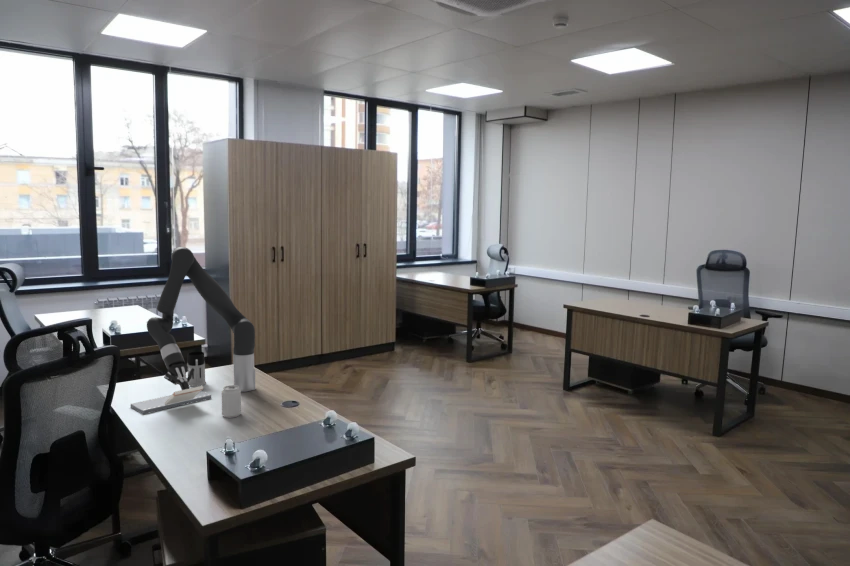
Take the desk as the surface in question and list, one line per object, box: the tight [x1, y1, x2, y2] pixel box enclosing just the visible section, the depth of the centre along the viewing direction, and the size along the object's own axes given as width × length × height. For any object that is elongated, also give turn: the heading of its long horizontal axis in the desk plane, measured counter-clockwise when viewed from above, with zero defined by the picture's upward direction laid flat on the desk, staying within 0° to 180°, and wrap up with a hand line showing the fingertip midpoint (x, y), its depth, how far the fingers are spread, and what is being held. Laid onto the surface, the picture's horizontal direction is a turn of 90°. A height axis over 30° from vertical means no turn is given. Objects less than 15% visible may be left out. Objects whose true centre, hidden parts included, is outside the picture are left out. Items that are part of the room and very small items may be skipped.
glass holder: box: [186, 351, 207, 387], centre depth 283 cm, size 9×14×15 cm, turn 23°
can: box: [221, 384, 242, 419], centre depth 244 cm, size 8×8×12 cm
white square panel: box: [164, 385, 204, 405], centre depth 251 cm, size 12×1×12 cm
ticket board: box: [130, 390, 212, 415], centre depth 258 cm, size 30×12×2 cm, turn 138°
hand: (186, 390), depth 249 cm, fingers closed
